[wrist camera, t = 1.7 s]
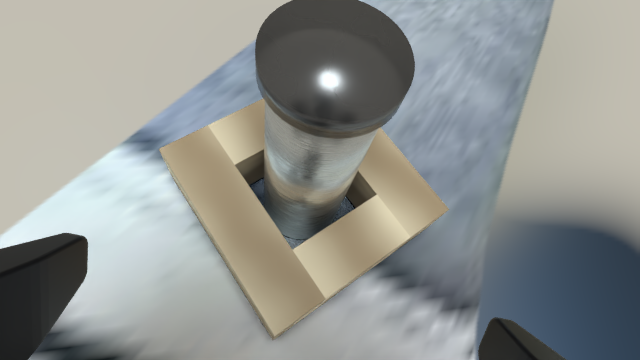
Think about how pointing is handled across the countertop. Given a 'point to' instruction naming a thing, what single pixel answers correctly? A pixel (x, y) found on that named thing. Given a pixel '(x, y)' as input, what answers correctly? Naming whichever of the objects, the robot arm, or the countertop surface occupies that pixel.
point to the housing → (265, 238)
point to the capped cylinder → (324, 103)
